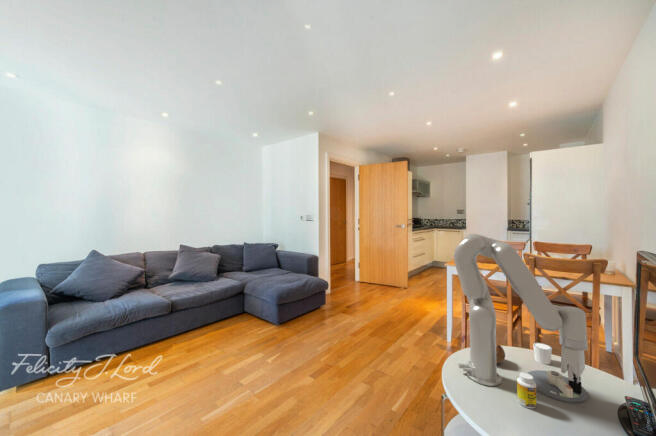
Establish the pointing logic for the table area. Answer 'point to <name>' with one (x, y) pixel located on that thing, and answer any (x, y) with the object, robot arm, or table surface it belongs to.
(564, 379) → the dial
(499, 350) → the onion
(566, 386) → the lever
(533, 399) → the supplement bottle
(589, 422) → the table surface
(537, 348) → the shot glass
